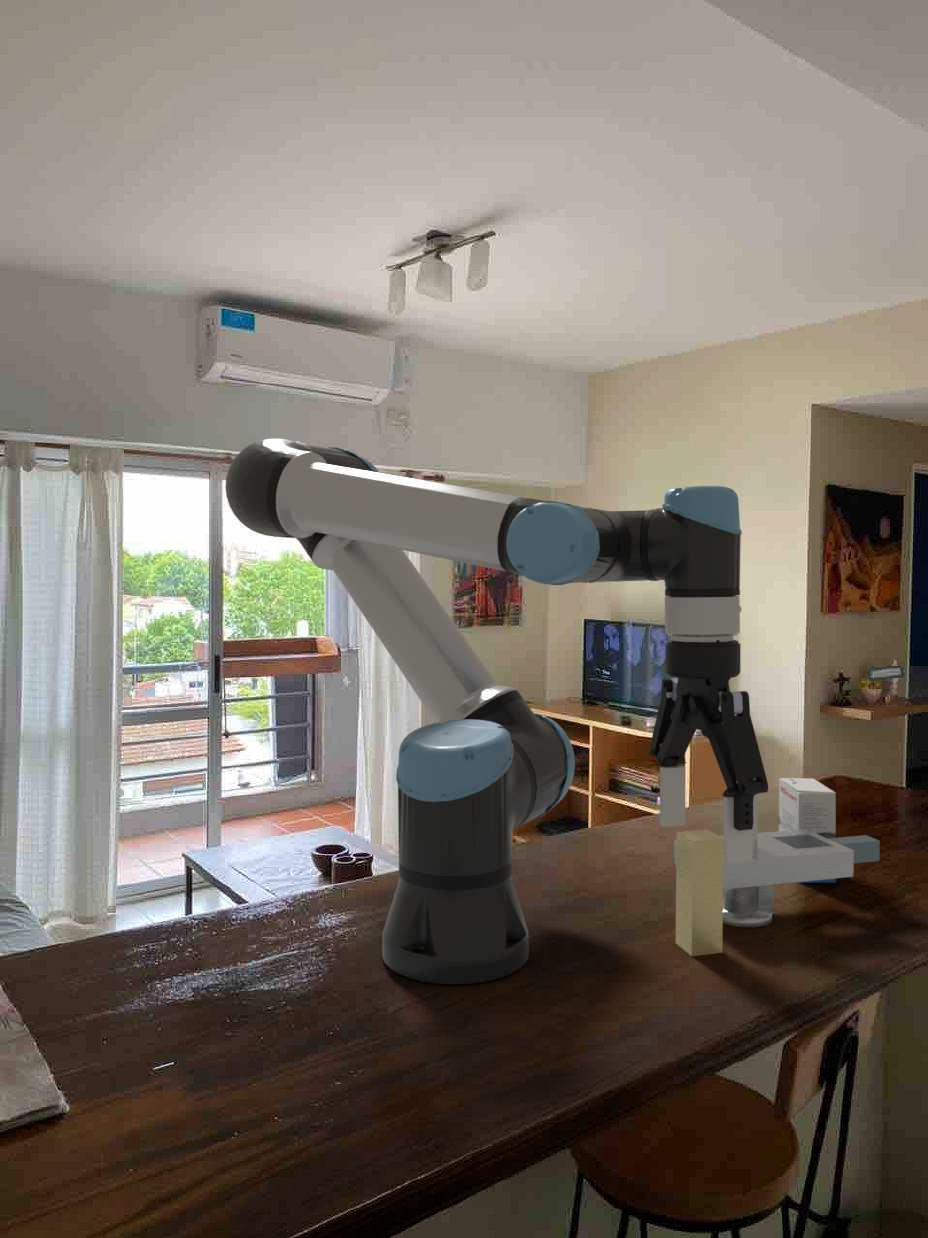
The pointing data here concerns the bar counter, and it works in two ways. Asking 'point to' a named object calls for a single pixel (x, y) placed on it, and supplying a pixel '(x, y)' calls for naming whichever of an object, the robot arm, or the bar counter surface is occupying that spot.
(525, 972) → the bar counter surface
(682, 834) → the pale yellow rectangular block
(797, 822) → the ink box
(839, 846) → the slotted post fixture
